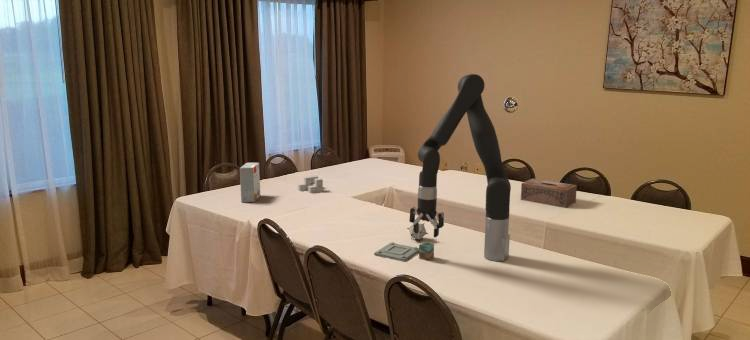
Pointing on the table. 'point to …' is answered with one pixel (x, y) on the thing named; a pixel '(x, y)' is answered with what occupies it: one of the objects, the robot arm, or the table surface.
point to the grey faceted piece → (420, 234)
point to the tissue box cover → (548, 192)
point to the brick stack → (426, 251)
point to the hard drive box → (250, 182)
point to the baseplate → (397, 251)
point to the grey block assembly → (311, 184)
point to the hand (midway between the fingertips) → (425, 234)
